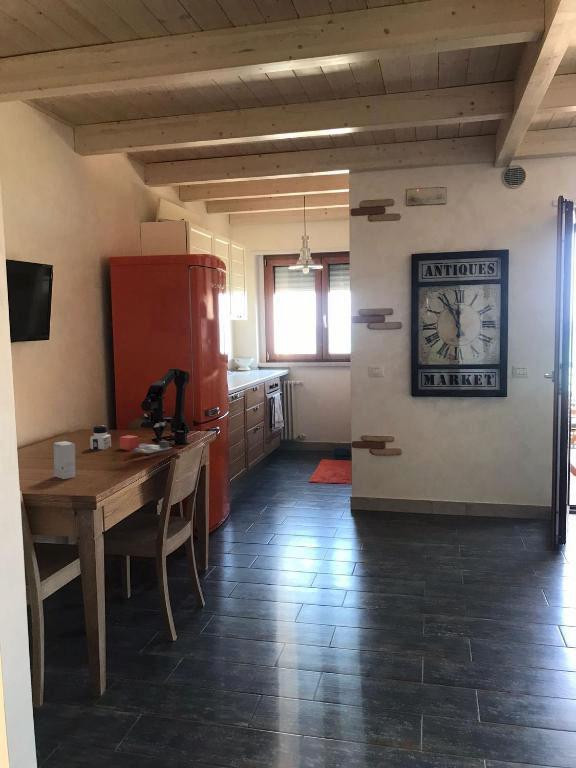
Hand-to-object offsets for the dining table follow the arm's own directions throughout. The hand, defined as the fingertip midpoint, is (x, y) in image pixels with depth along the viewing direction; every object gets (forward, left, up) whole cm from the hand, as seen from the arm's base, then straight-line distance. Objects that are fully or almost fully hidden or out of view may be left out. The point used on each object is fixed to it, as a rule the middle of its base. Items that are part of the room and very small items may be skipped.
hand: (158, 439), depth 315 cm
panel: (+2, -8, -7) cm, 10 cm away
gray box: (-4, 0, -5) cm, 6 cm away
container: (+13, -30, -7) cm, 33 cm away
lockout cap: (+6, -15, -5) cm, 17 cm away
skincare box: (+58, +3, -7) cm, 58 cm away
